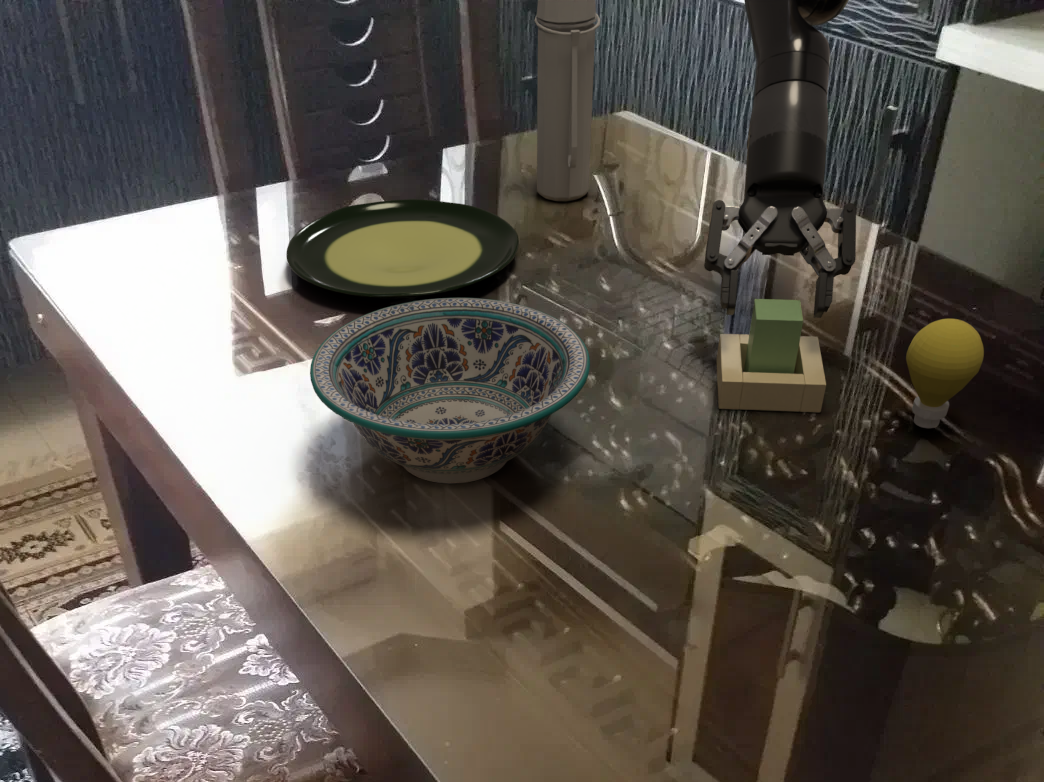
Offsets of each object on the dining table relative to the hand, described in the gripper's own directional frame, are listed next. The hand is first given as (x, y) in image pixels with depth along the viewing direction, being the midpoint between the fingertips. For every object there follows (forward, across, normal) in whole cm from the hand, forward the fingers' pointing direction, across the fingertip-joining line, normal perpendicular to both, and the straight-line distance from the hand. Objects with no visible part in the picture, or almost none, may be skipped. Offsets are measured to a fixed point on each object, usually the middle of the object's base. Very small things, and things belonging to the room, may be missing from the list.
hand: (774, 313), depth 113 cm
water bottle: (-28, -24, +39) cm, 54 cm away
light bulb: (+10, +15, 0) cm, 18 cm away
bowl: (+17, -30, -7) cm, 35 cm away
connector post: (+6, 0, +4) cm, 7 cm away
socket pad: (+6, 0, +4) cm, 7 cm away
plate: (-13, -42, +23) cm, 49 cm away
